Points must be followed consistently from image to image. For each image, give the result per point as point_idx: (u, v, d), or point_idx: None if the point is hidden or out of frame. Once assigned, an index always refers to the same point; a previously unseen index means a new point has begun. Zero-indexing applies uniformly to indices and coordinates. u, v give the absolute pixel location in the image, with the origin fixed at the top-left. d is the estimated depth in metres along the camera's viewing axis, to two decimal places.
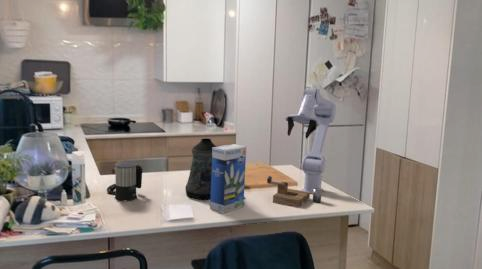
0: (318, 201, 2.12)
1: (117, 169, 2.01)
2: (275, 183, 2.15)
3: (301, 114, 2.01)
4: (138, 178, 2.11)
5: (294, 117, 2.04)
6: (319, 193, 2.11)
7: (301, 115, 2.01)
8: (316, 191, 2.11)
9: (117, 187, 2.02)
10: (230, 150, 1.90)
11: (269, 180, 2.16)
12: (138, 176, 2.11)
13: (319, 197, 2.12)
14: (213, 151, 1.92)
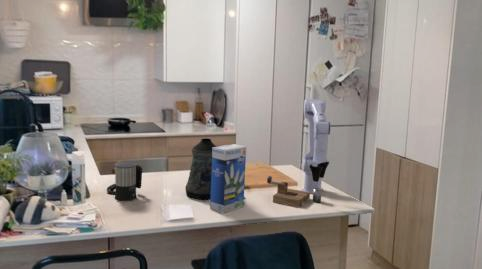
0: (318, 201, 2.12)
1: (117, 169, 2.01)
2: (275, 183, 2.15)
3: None
4: (138, 178, 2.11)
5: None
6: (319, 193, 2.11)
7: None
8: (316, 191, 2.11)
9: (117, 187, 2.02)
10: (230, 150, 1.90)
11: (269, 180, 2.16)
12: (138, 176, 2.11)
13: (319, 197, 2.12)
14: (213, 151, 1.92)
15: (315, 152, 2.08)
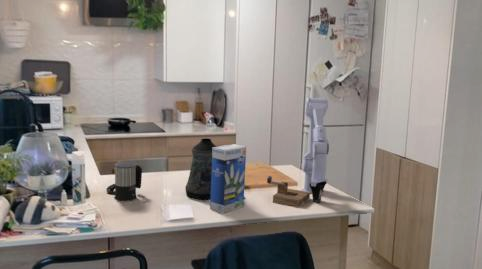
0: (318, 201, 2.12)
1: (117, 169, 2.01)
2: (275, 183, 2.15)
3: None
4: (138, 178, 2.11)
5: None
6: None
7: None
8: None
9: (117, 187, 2.02)
10: (230, 150, 1.90)
11: (269, 180, 2.16)
12: (138, 176, 2.11)
13: (319, 197, 2.12)
14: (213, 151, 1.92)
15: (314, 171, 2.10)
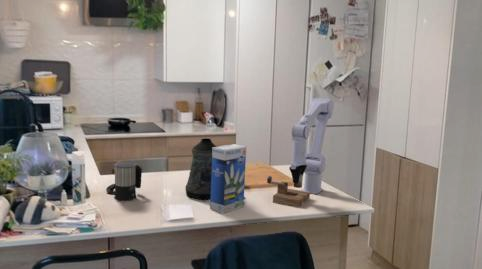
0: (299, 186, 2.10)
1: (116, 169, 2.01)
2: (275, 183, 2.15)
3: None
4: (137, 178, 2.11)
5: None
6: (300, 178, 2.10)
7: None
8: None
9: (117, 187, 2.02)
10: (230, 150, 1.90)
11: (269, 180, 2.16)
12: (137, 176, 2.11)
13: (300, 182, 2.10)
14: (213, 151, 1.92)
15: (294, 155, 2.08)
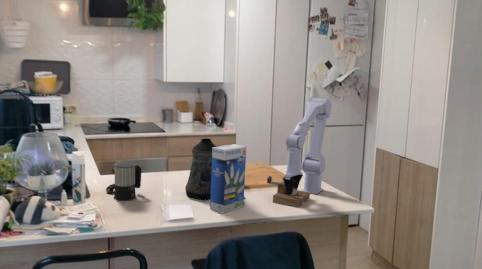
0: None
1: (116, 169, 2.01)
2: (275, 183, 2.15)
3: None
4: (137, 178, 2.11)
5: None
6: (295, 192, 2.11)
7: None
8: None
9: (116, 187, 2.02)
10: (230, 150, 1.90)
11: (269, 180, 2.16)
12: (137, 176, 2.11)
13: None
14: (213, 151, 1.92)
15: (288, 165, 2.09)
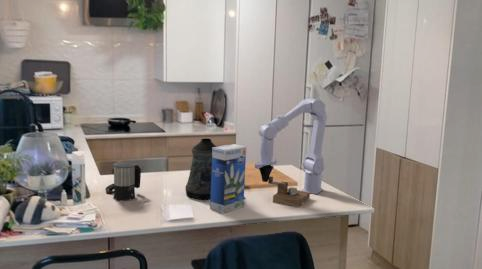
0: None
1: (115, 169, 2.01)
2: (276, 183, 2.15)
3: (272, 164, 2.14)
4: (137, 178, 2.11)
5: None
6: (294, 192, 2.11)
7: None
8: (291, 190, 2.11)
9: (116, 187, 2.03)
10: (230, 150, 1.90)
11: (270, 180, 2.16)
12: (137, 176, 2.11)
13: None
14: (213, 151, 1.92)
15: (260, 155, 2.15)
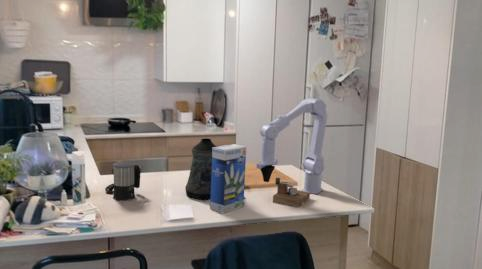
0: None
1: (115, 169, 2.01)
2: None
3: (273, 164, 2.14)
4: (136, 178, 2.11)
5: None
6: (294, 192, 2.11)
7: (272, 164, 2.14)
8: (291, 190, 2.11)
9: (115, 187, 2.03)
10: (230, 150, 1.90)
11: (277, 181, 2.14)
12: (136, 176, 2.11)
13: None
14: (213, 151, 1.92)
15: (262, 155, 2.14)
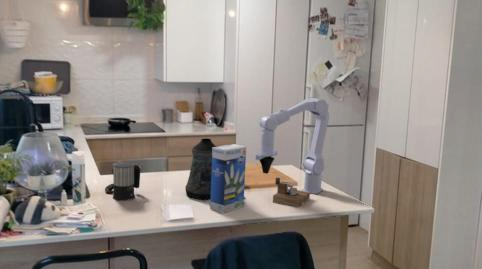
0: None
1: (115, 169, 2.01)
2: None
3: (272, 155, 2.13)
4: (136, 178, 2.11)
5: None
6: (294, 192, 2.11)
7: (271, 155, 2.14)
8: (292, 190, 2.11)
9: (115, 187, 2.03)
10: (230, 150, 1.90)
11: (277, 181, 2.14)
12: (136, 176, 2.11)
13: None
14: (213, 151, 1.92)
15: (261, 146, 2.14)
